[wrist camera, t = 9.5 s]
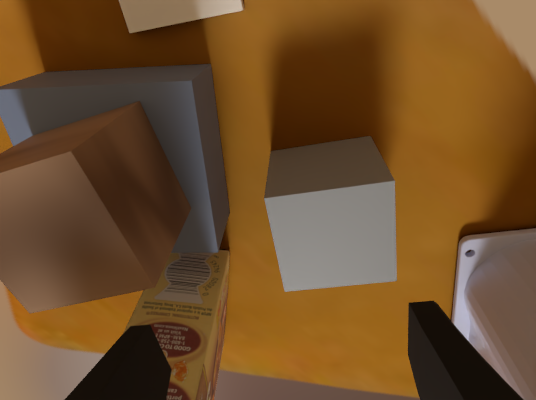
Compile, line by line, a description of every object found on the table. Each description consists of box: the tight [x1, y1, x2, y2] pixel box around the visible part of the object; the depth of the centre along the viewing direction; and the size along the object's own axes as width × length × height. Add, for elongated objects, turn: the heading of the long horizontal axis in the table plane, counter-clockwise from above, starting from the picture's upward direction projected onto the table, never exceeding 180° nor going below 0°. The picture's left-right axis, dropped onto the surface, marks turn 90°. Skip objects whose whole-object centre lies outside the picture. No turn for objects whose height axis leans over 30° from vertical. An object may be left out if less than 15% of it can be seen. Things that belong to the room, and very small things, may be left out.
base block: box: [0, 64, 230, 253], centre depth 17 cm, size 8×8×4 cm
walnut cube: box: [0, 101, 191, 313], centre depth 13 cm, size 5×5×5 cm
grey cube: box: [264, 136, 397, 292], centre depth 17 cm, size 5×5×5 cm
